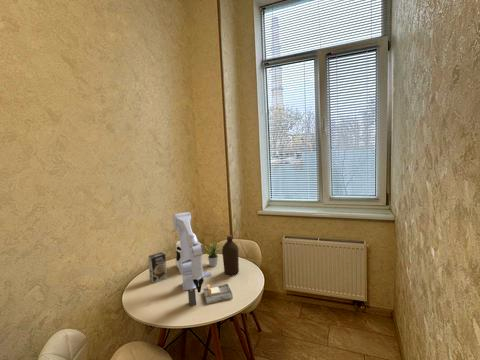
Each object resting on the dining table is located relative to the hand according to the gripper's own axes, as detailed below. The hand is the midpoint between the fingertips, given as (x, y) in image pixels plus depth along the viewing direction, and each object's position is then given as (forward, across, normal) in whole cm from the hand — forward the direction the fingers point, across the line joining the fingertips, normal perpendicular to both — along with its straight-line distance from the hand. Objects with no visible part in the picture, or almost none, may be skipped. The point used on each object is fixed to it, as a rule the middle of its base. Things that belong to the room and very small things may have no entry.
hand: (198, 291), depth 136 cm
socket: (+4, +10, 0) cm, 11 cm away
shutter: (+2, +8, 0) cm, 8 cm away
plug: (+4, -4, -3) cm, 7 cm away
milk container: (+4, -2, +45) cm, 45 cm away
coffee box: (+4, -22, +33) cm, 40 cm away
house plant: (+4, +16, +40) cm, 43 cm away
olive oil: (+4, +24, +24) cm, 34 cm away
